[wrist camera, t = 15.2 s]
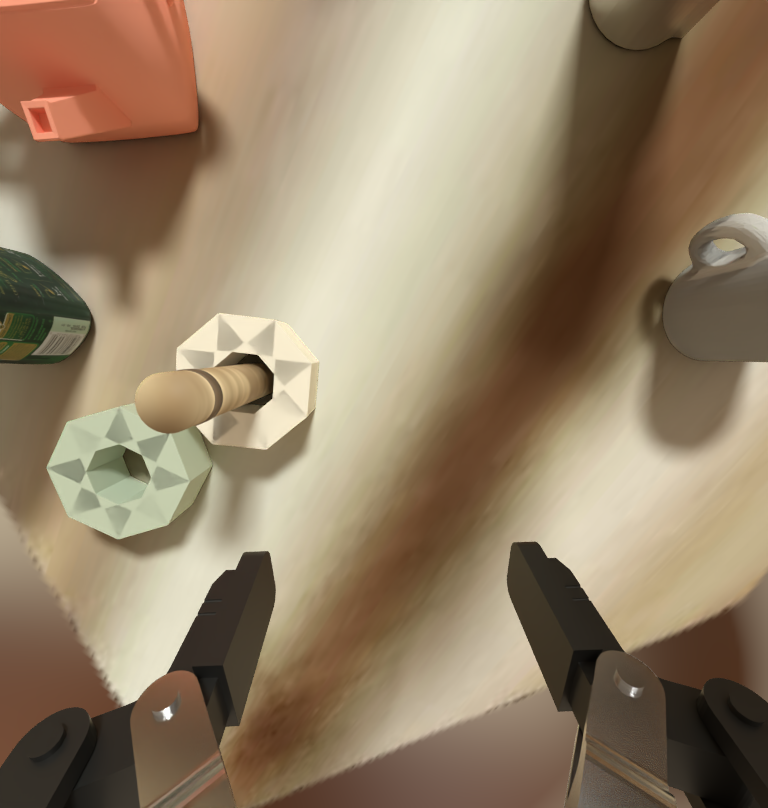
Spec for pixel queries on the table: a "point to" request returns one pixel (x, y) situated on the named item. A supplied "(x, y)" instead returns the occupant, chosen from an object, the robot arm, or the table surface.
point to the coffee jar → (37, 312)
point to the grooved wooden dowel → (199, 394)
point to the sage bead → (126, 472)
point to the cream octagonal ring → (285, 358)
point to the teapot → (98, 68)
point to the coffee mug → (722, 294)
